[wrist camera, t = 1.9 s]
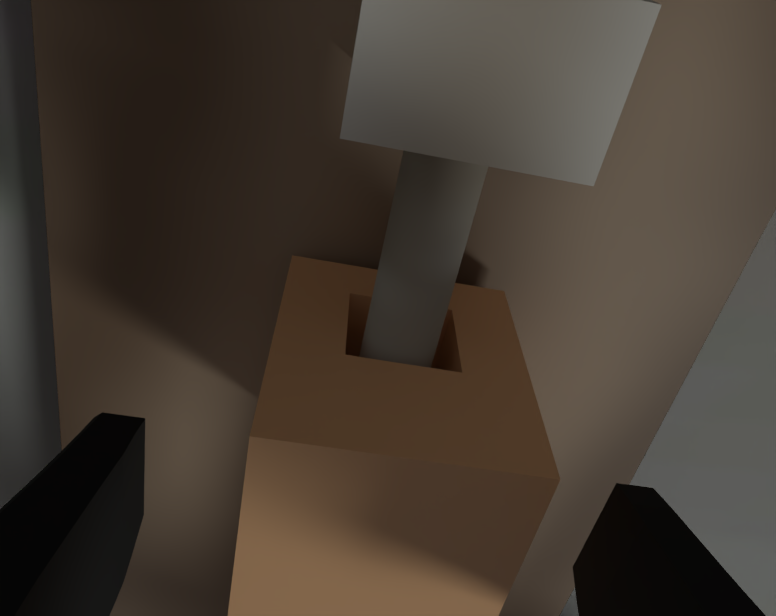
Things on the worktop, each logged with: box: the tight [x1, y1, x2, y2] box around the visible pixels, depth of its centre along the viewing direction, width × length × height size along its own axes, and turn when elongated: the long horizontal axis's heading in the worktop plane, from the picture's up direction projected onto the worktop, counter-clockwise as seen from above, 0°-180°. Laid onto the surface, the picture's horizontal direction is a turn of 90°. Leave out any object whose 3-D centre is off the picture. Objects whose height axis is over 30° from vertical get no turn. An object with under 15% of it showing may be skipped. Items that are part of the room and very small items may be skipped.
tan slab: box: [31, 0, 776, 616], centre depth 16 cm, size 13×28×5 cm, turn 169°
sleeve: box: [228, 255, 561, 616], centre depth 12 cm, size 4×4×5 cm
